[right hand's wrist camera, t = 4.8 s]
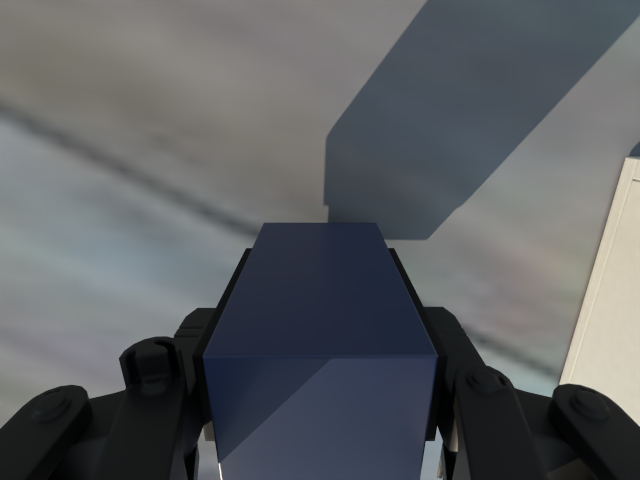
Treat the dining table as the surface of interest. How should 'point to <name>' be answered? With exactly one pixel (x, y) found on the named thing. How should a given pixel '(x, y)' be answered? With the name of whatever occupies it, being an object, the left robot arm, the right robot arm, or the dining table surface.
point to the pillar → (320, 361)
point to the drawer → (613, 305)
